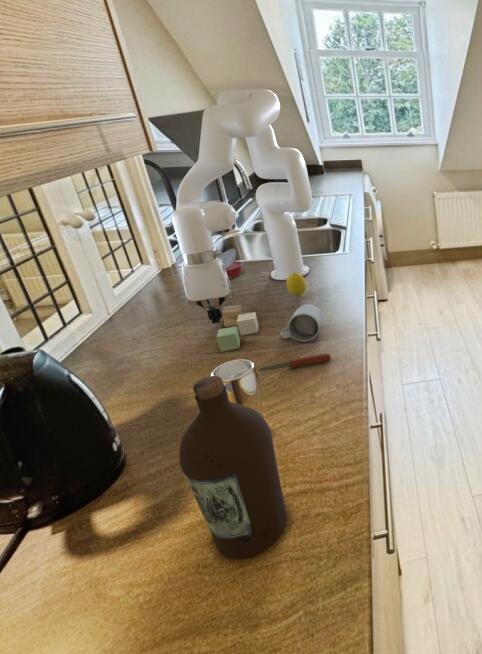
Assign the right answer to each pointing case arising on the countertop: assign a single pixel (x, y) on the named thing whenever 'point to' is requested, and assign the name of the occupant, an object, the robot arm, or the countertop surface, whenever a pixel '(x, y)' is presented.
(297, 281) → the lemon
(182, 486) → the countertop surface
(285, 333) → the ceramic mug
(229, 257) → the canned food
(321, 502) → the countertop surface
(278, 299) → the countertop surface
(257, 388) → the beer glass
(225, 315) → the birch block
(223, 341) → the sage block
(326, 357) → the kitchen knife
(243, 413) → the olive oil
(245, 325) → the cream block
